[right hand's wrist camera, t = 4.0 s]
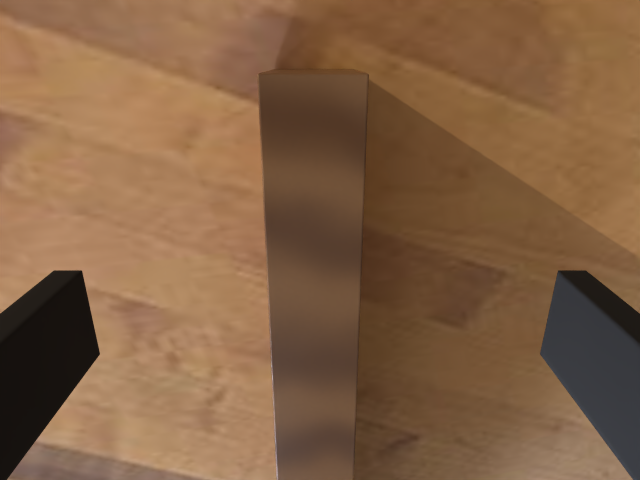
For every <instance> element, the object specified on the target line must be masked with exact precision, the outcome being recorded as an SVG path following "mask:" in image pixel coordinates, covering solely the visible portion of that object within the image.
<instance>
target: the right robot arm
mask: <svg viewBox="0 0 640 480" xmlns="http://www.w3.org/2000/svg"><path fill="white" fill-rule="evenodd" d="M99 355H100V352H99V348H98V343H97V338H96V334H95V329H94V324H93V320H92V315H91V311H90V306H89V301H88V297H87V292H86V287H85V283H84V278H83V273H82V271H53V272H52V273H50V274H49V275H48V276H47V277H45V278H44V279H43V280H42V281H40V282H39V283H38V284H37V285H35V286H34V287H33V288H32V289H31V290H29V291H28V292H27V293H26V294H24V295H23V296H22V297H21V298H19V299H18V300H17V301H16V302H14V303H13V304H12V305H11V306H9V307H8V308H7V309H6V310H4V311H3V312H2V313H1V314H0V480H7V479H8V477H9V476H10V475H11V473H12V472H13V471H14V469H15V468H16V467H17V465H18V464H19V462H20V461H21V460H22V458H23V457H24V456H25V454H26V453H27V452H28V450H29V449H30V448H31V446H32V445H33V444H34V442H35V441H36V440H37V438H38V437H39V436H40V434H41V433H42V431H43V430H44V429H45V427H46V426H47V425H48V423H49V422H50V421H51V419H52V418H53V417H54V415H55V414H56V413H57V411H58V410H59V409H60V407H61V406H62V405H63V403H64V402H65V400H66V399H67V398H68V396H69V395H70V394H71V392H72V391H73V390H74V388H75V387H76V386H77V384H78V383H79V382H80V380H81V379H82V378H83V376H84V375H85V373H86V372H87V371H88V369H89V368H90V367H91V365H92V364H93V363H94V361H95V360H96V359H97V357H98V356H99ZM540 355H541V356H542V357H543V359H544V360H545V361H546V363H547V364H548V365H549V367H550V368H551V369H552V371H553V372H554V373H555V375H556V376H557V378H558V379H559V380H560V382H561V383H562V384H563V386H564V387H565V388H566V390H567V391H568V392H569V394H570V395H571V396H572V398H573V399H574V400H575V402H576V403H577V405H578V406H579V407H580V409H581V410H582V411H583V413H584V414H585V415H586V417H587V418H588V419H589V421H590V422H591V423H592V425H593V426H594V427H595V429H596V430H597V431H598V433H599V434H600V436H601V437H602V438H603V440H604V441H605V442H606V444H607V445H608V446H609V448H610V449H611V450H612V452H613V453H614V454H615V456H616V457H617V458H618V460H619V461H620V462H621V464H622V465H623V467H624V468H625V469H626V471H627V472H628V473H629V475H630V476H631V477H632V479H633V480H640V314H639V313H638V312H637V311H636V310H634V309H633V308H632V307H631V306H629V305H628V304H627V303H626V302H624V301H623V300H622V299H621V298H619V297H618V296H617V295H616V294H614V293H613V292H612V291H611V290H609V289H608V288H607V287H606V286H605V285H603V284H602V283H601V282H600V281H598V280H597V279H596V278H595V277H593V276H592V275H591V274H590V273H588V272H587V271H558V273H557V278H556V283H555V287H554V292H553V297H552V301H551V306H550V311H549V315H548V320H547V324H546V329H545V334H544V338H543V343H542V348H541V352H540Z"/></svg>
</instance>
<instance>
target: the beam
mask: <svg viewBox="0 0 640 480" xmlns="http://www.w3.org/2000/svg"><path fill="white" fill-rule="evenodd" d="M257 77H258V98H259V119H260V140H261V161H262V181H263V202H264V223H265V244H266V265H267V286H268V306H269V327H270V348H271V369H272V390H273V410H274V431H275V452H276V473H277V480H354V456H355V429H356V402H357V376H358V349H359V322H360V295H361V269H362V242H363V215H364V189H365V162H366V135H367V108H368V82H369V75H368V74H367V73H364V72H360V71H357V70H354V69H273V70H270V71H266V72H263V73H259V74H258V75H257Z"/></svg>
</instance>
